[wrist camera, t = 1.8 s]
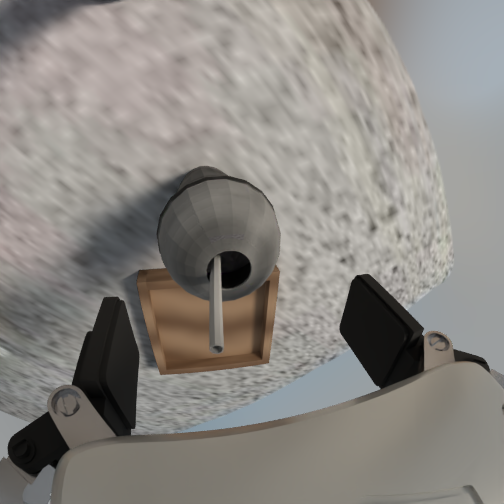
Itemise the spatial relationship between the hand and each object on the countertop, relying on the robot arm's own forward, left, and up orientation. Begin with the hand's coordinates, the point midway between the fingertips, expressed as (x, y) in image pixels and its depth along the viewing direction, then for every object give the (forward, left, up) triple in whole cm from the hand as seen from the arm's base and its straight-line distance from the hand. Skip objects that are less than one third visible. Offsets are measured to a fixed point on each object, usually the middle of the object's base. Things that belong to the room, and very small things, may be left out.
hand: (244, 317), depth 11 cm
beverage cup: (0, 0, -19) cm, 19 cm away
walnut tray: (+16, 0, -18) cm, 24 cm away
